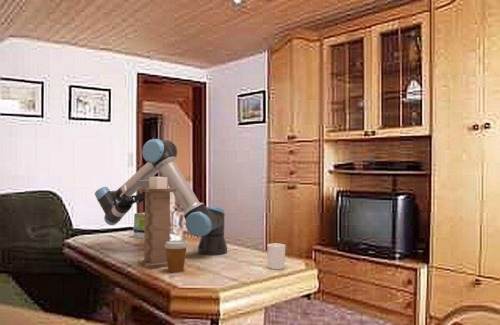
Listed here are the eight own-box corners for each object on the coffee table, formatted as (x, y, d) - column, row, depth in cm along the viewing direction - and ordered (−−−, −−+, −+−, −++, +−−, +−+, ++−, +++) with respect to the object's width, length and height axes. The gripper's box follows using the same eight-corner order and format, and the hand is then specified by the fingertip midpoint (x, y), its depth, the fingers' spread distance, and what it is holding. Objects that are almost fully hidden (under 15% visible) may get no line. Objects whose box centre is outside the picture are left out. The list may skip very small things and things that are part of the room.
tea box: (147, 239, 271) (147, 214, 271) (133, 238, 274) (133, 213, 274) (161, 235, 285) (161, 211, 285) (147, 234, 288) (147, 211, 288)
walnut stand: (137, 264, 203) (138, 187, 204) (161, 260, 211) (162, 187, 211) (151, 269, 194) (152, 189, 194) (175, 265, 202) (176, 188, 202)
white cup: (279, 270, 194) (280, 247, 194) (263, 268, 199) (264, 245, 199) (288, 267, 201) (288, 244, 201) (272, 265, 205) (272, 242, 205)
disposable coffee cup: (188, 272, 189) (189, 243, 189) (165, 274, 186) (165, 244, 186) (185, 267, 198) (185, 239, 198) (163, 268, 195) (163, 240, 195)
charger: (135, 186, 213) (135, 176, 213) (145, 186, 217) (145, 175, 217) (157, 188, 198) (157, 177, 198) (167, 188, 202) (167, 177, 202)
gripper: (146, 212, 236) (164, 193, 222) (99, 215, 220) (115, 195, 206) (142, 199, 239) (160, 179, 225) (96, 201, 223) (112, 180, 209)
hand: (139, 187), depth 215 cm, fingers open, 13 cm apart
